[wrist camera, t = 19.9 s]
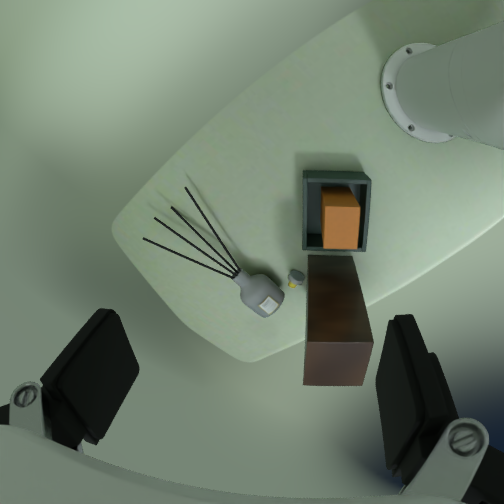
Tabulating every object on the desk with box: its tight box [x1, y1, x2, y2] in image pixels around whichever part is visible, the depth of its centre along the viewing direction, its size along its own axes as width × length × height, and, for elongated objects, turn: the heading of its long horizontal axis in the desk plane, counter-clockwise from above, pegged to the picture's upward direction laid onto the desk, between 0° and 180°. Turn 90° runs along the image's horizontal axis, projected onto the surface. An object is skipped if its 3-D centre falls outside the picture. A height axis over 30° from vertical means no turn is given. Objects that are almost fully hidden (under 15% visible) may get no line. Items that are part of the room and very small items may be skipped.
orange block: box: [320, 187, 360, 249], centre depth 34 cm, size 4×4×8 cm
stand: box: [303, 255, 374, 386], centre depth 34 cm, size 6×6×17 cm
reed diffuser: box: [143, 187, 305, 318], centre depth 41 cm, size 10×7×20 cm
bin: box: [302, 170, 371, 252], centre depth 36 cm, size 8×8×4 cm
